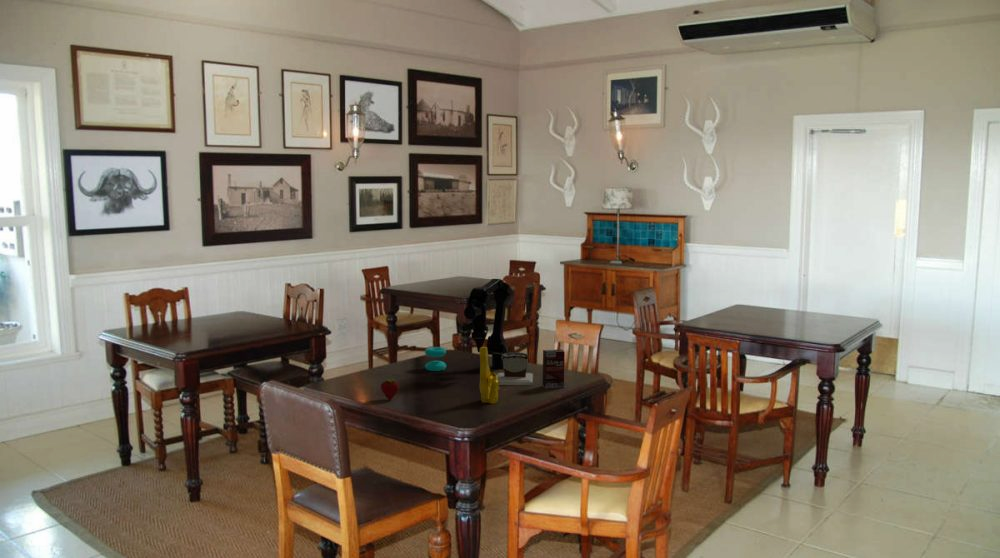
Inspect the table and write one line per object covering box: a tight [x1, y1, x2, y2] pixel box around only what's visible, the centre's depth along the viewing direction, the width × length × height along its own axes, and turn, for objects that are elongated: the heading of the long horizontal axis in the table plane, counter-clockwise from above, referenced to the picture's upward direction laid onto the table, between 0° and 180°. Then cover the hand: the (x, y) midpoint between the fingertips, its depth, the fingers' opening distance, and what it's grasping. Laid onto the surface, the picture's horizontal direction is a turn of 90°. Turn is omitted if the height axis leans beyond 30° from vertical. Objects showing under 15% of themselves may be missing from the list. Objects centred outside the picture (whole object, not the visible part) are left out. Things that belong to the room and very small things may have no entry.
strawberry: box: [380, 378, 400, 401], centre depth 317 cm, size 6×8×10 cm
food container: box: [501, 351, 530, 377], centre depth 350 cm, size 12×6×10 cm, turn 87°
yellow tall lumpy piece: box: [479, 346, 501, 405], centre depth 313 cm, size 18×8×22 cm, turn 166°
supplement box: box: [542, 349, 566, 389], centre depth 337 cm, size 9×5×16 cm, turn 102°
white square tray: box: [496, 372, 534, 386], centre depth 349 cm, size 16×16×2 cm
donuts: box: [424, 346, 447, 372], centre depth 371 cm, size 10×10×10 cm
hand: (479, 350), depth 356 cm, fingers open, 9 cm apart
